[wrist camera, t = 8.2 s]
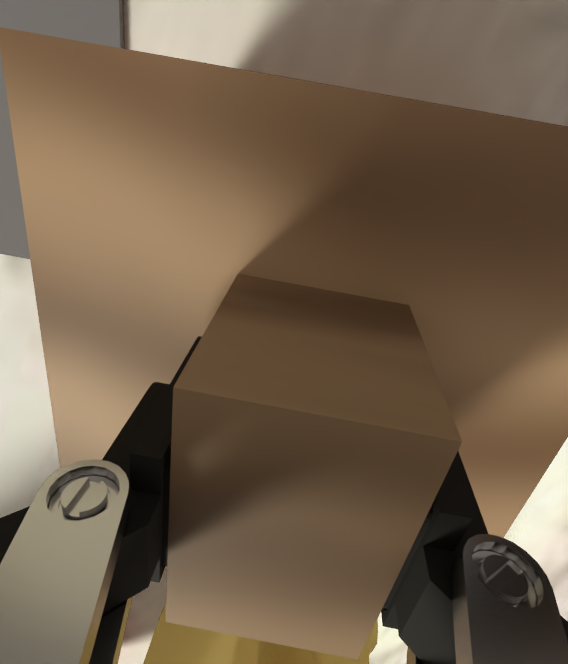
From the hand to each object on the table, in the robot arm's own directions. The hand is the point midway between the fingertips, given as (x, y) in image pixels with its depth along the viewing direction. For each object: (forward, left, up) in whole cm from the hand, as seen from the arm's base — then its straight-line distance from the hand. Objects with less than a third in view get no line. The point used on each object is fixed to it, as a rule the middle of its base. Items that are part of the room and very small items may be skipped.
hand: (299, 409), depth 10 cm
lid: (0, 0, -2) cm, 2 cm away
